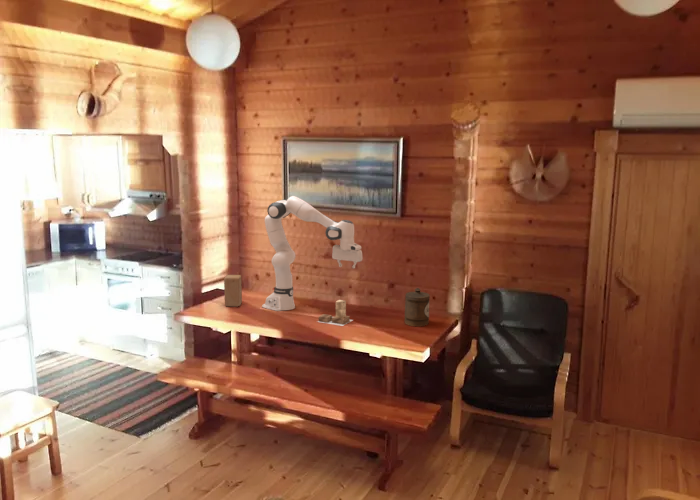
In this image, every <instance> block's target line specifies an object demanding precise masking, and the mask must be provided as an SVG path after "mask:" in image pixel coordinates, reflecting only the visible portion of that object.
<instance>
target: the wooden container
mask: <svg viewBox="0 0 700 500" xmlns="http://www.w3.org/2000/svg"><path fill="white" fill-rule="evenodd" d="M430 298H431V297H430V294H429V293H428V292H424V291H421V288H419V287H416V288H415V289H414V291H409V292H406V293H405V300H404V301H405V303H404V304H405V305H404V323H405V325H408V326H410V327H411V326H412V327H425V325H426V326H428V325H429V323H430V322H429V321H430V320H429V319H430Z"/></svg>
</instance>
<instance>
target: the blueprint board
mask: <svg viewBox="0 0 700 500" xmlns="http://www.w3.org/2000/svg"><path fill="white" fill-rule="evenodd" d="M352 321H354V319H350V321H349V322H347V323H345V324H338V323H332V320H331V321H329V322H321V321H319V320H317V321H316V323H317V322H318V323H320V324H321V323H323V324H328V325H335V326H341V327H343V326H345V325H347V324H350V323H351V322H352Z"/></svg>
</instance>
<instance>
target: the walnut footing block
mask: <svg viewBox="0 0 700 500" xmlns="http://www.w3.org/2000/svg"><path fill="white" fill-rule="evenodd" d="M332 317H333V315H331V314H326V313H323V314H320V315H319V316H318V321H321V322H329V321H331V320H332ZM321 322H320V323H321Z"/></svg>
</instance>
